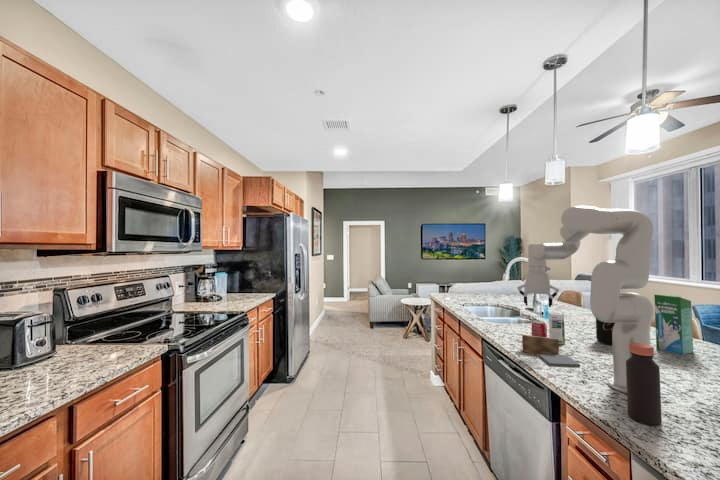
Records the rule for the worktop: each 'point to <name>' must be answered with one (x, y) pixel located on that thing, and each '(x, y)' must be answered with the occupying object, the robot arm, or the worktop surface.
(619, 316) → the robot arm
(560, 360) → the mat
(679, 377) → the worktop surface
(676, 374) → the worktop surface
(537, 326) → the beverage can
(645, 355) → the bottle
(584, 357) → the worktop surface
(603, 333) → the coffee jar
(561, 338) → the syrup box
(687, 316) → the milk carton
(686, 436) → the worktop surface
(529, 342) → the brown wooden block
